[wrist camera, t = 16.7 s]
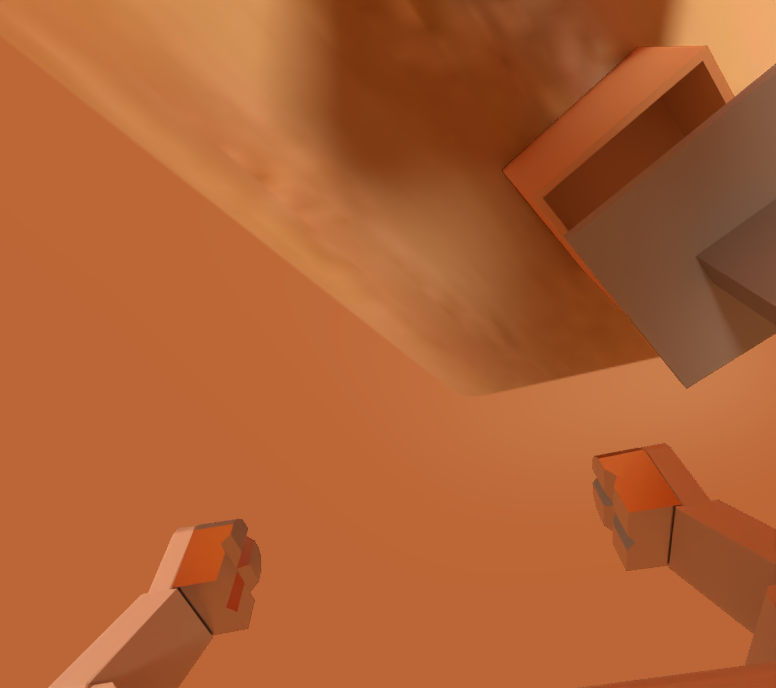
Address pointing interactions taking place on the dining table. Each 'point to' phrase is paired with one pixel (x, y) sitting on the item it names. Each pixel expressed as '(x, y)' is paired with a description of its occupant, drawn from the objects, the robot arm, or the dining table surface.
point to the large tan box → (617, 134)
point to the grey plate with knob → (697, 239)
